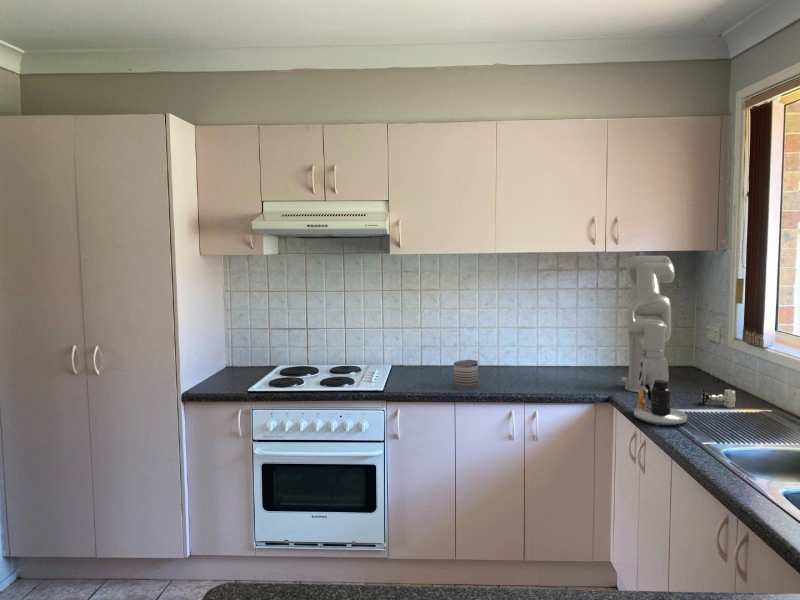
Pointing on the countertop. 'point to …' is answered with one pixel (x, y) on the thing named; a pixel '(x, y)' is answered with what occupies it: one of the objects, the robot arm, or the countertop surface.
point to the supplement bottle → (661, 398)
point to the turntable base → (657, 423)
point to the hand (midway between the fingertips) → (652, 400)
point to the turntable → (646, 414)
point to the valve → (721, 398)
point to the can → (466, 374)
